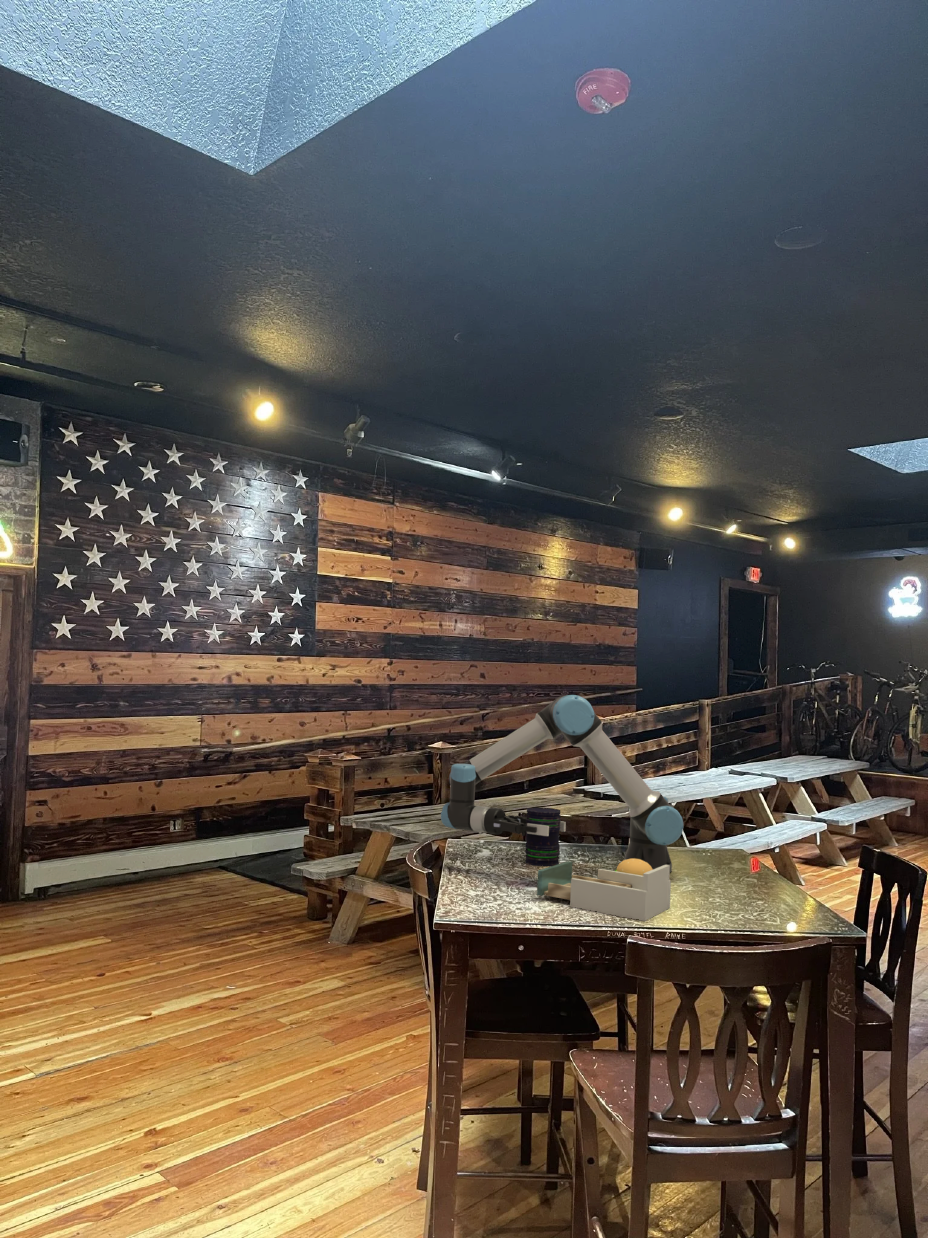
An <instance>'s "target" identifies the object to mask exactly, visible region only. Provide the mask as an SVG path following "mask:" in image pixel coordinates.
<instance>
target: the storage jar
mask: <svg viewBox="0 0 928 1238" xmlns="http://www.w3.org/2000/svg"><path fill="white" fill-rule="evenodd" d="M526 817H527V818H526V826H527V824H528V823H529V824H537V825H545V826H549V836H542V835H535V834H527V833H526V842H525V849H524V850H525V851H524V854H525V861H524V862H525V864H526V865H529V866H535V867H545V868H548V867H551V866H554V865H558V864H560V855H561V854H560V853H561V852H560V832H561V831H560V823H561V810H560V809H558V808H552V807H529V808H528V807H527V808H526Z"/></svg>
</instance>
